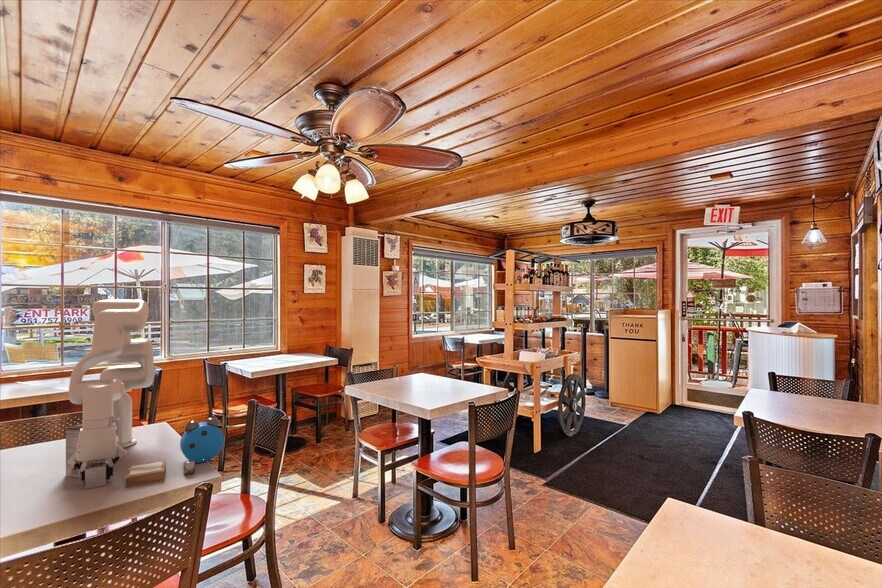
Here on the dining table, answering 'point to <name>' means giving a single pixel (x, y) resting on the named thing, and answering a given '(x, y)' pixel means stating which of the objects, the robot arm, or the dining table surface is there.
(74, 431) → the coffee box
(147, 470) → the picture frame
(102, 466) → the housing
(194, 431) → the alarm clock
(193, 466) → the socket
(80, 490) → the dining table surface
